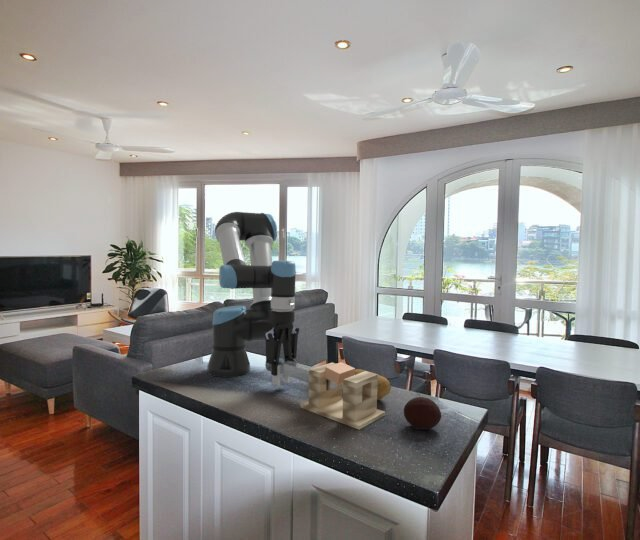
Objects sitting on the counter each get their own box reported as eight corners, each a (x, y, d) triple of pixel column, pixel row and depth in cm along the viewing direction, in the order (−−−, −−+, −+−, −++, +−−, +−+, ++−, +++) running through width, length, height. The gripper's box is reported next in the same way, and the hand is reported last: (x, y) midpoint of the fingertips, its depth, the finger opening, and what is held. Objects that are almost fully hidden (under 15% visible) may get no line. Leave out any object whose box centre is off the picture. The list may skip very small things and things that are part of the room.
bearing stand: (300, 407, 109) (301, 368, 109) (328, 396, 118) (329, 360, 118) (359, 429, 96) (360, 385, 96) (384, 415, 105) (386, 375, 105)
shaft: (265, 372, 124) (265, 356, 124) (277, 369, 128) (277, 353, 128) (328, 393, 107) (328, 374, 107) (340, 388, 111) (340, 370, 111)
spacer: (324, 377, 107) (325, 367, 106) (339, 371, 112) (341, 362, 112) (338, 384, 103) (339, 373, 103) (353, 378, 109) (355, 368, 108)
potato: (378, 410, 109) (378, 381, 108) (341, 396, 119) (341, 370, 119) (398, 401, 116) (399, 374, 115) (361, 388, 126) (362, 364, 125)
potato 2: (402, 419, 103) (403, 390, 102) (439, 423, 101) (440, 393, 101) (403, 433, 95) (404, 402, 95) (442, 437, 93) (444, 405, 93)
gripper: (271, 313, 113) (269, 393, 114) (309, 308, 126) (307, 380, 127) (254, 310, 118) (252, 386, 119) (292, 306, 131) (291, 374, 132)
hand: (281, 383), depth 123 cm, fingers closed on shaft, 4 cm apart
